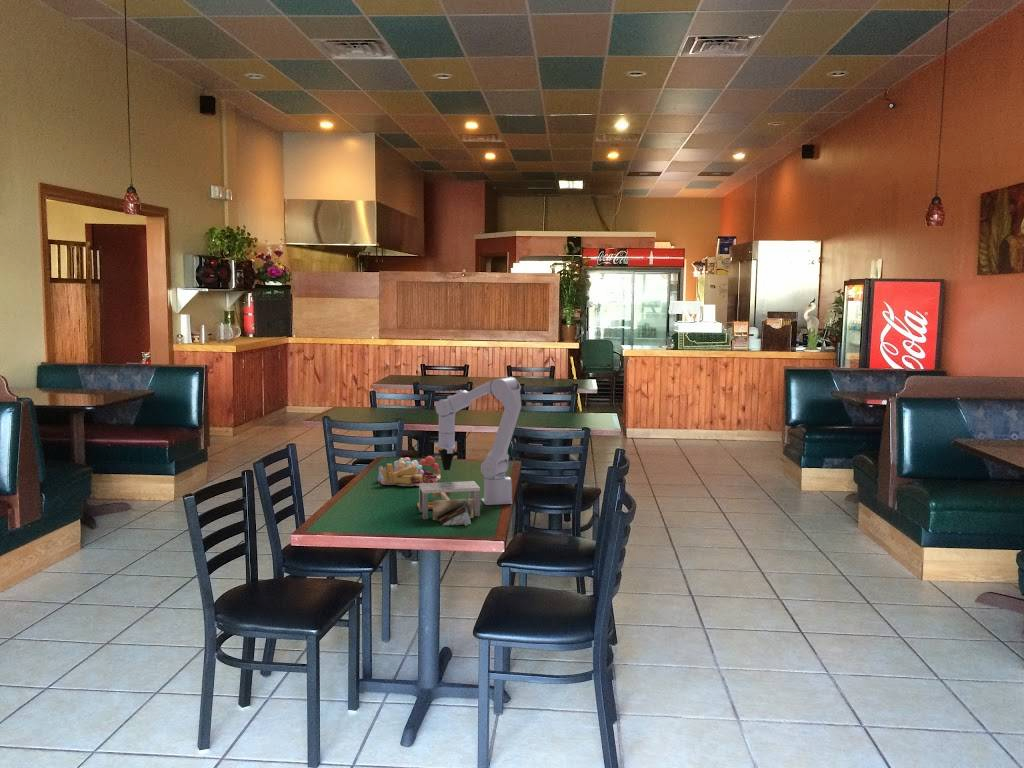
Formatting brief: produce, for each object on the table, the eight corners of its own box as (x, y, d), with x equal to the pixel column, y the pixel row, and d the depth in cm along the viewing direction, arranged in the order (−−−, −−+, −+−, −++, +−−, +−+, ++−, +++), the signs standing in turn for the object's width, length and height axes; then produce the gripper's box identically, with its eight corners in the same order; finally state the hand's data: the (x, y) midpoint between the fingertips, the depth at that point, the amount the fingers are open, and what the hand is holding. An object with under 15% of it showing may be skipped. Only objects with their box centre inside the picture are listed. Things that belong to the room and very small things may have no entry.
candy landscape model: (435, 489, 304) (435, 464, 304) (373, 488, 305) (372, 464, 304) (442, 474, 329) (442, 452, 328) (385, 474, 330) (384, 451, 329)
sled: (459, 499, 286) (459, 482, 285) (473, 517, 262) (473, 499, 261) (422, 501, 282) (422, 484, 282) (433, 519, 259) (433, 501, 258)
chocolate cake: (435, 529, 252) (463, 503, 251) (432, 517, 258) (459, 492, 257) (456, 545, 256) (483, 520, 255) (452, 533, 263) (479, 509, 261)
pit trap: (469, 503, 282) (469, 500, 282) (472, 507, 276) (472, 504, 276) (417, 506, 277) (417, 502, 277) (419, 510, 272) (419, 506, 272)
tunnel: (473, 508, 275) (474, 481, 274) (480, 516, 265) (480, 487, 264) (419, 511, 271) (419, 483, 270) (423, 519, 261) (423, 490, 260)
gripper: (432, 429, 297) (432, 466, 298) (438, 436, 283) (439, 474, 284) (451, 429, 299) (451, 465, 300) (458, 435, 285) (458, 473, 286)
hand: (446, 469), depth 292 cm, fingers closed
